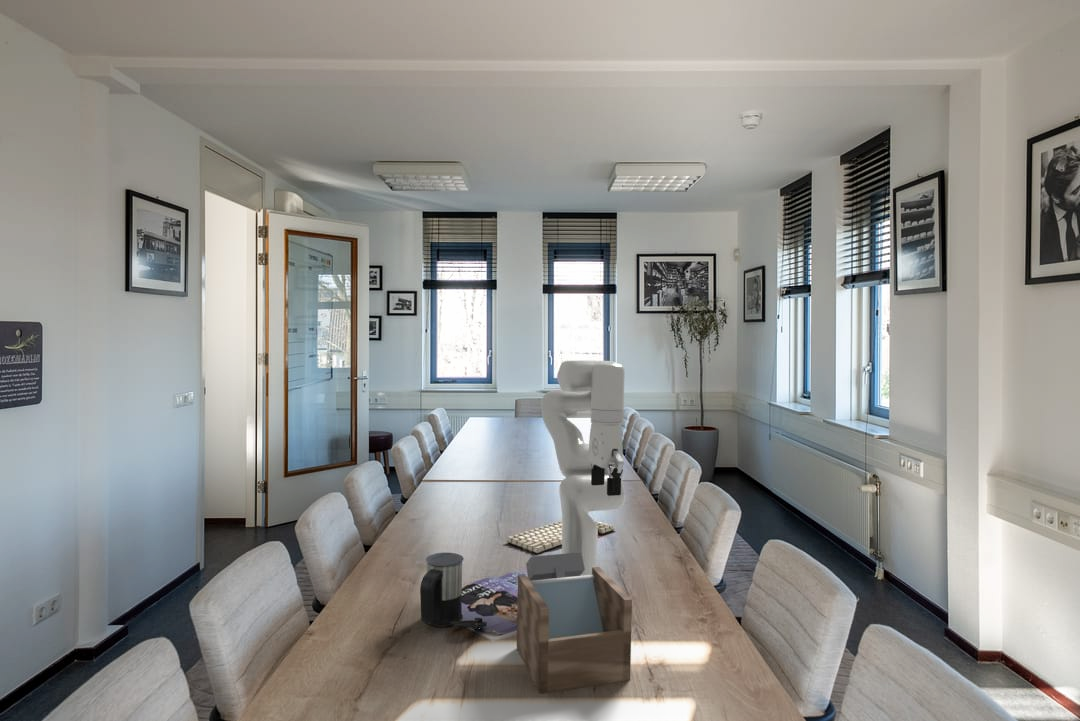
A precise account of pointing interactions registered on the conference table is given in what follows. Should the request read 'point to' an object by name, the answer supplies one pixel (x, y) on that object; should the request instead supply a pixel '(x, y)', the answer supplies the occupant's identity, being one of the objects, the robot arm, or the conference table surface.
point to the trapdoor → (566, 594)
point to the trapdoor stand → (575, 640)
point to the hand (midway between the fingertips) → (605, 489)
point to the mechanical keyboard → (548, 537)
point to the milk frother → (444, 592)
